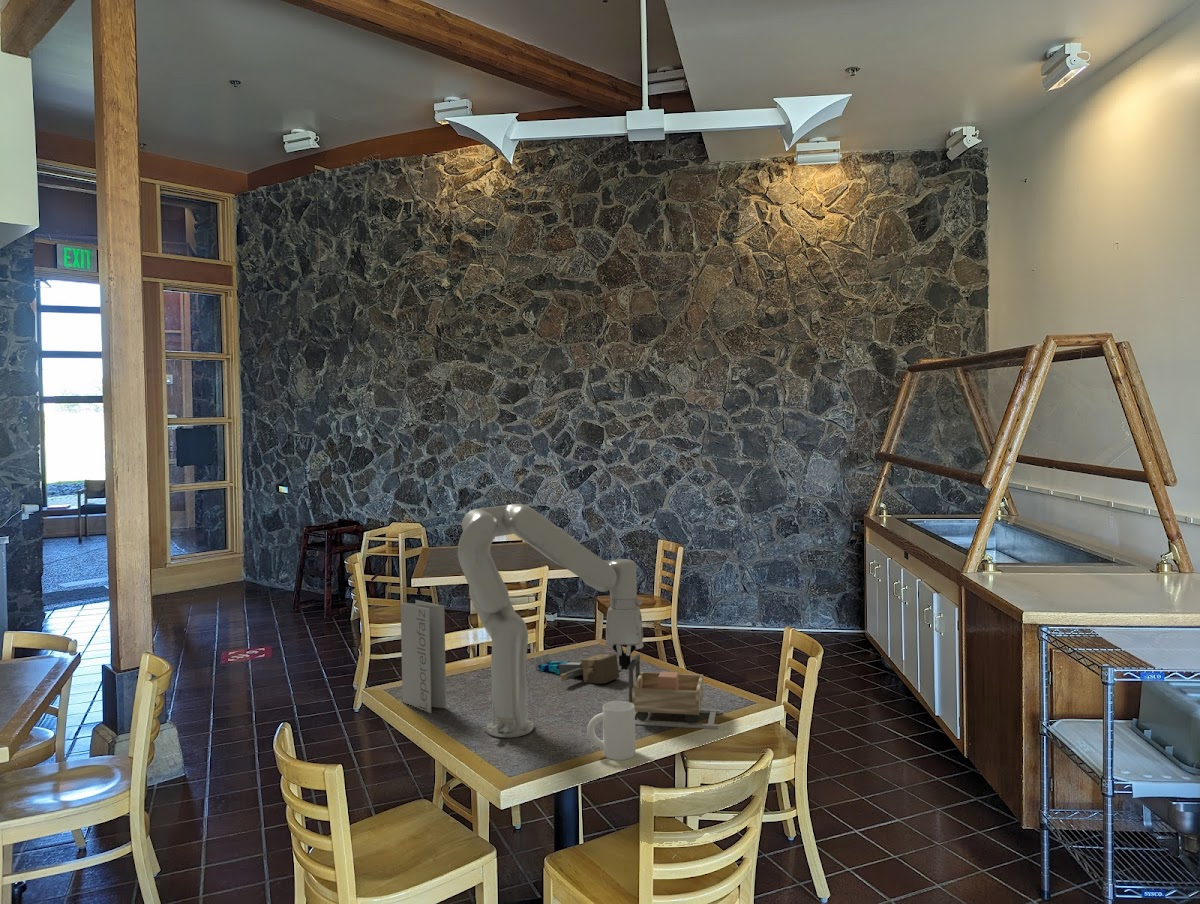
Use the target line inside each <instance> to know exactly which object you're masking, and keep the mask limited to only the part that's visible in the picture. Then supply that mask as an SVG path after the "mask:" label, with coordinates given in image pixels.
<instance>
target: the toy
mask: <svg viewBox="0 0 1200 904" xmlns="http://www.w3.org/2000/svg"><path fill="white" fill-rule="evenodd" d="M617 656H618V654H595V655H591V656H589V657H586V658H582V659H580V660H578V659H577V660H574V659H573V660H572V659H571V660H570V659H569V660H568V661H559V660H558V661H557V660H555V661H552V660H551V659H550V657H549V653H548V652H545V653H543V654H542V659H543V662H541V659H540V656H539V655H538V656H534V657H533V663H534V670H535V669H536V670H535V671H538V670H540V671H539V672H555V675H560V681H561V682H564V681H565V682H566V681H568V680H570V679H573V678H575V677H579V676H582V678H583V683H588V684H607V683H608V682H611V681H614V680H616V679H618V678H620V673H619V672H620V671H619V662H618V657H617Z"/></svg>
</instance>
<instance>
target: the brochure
mask: <svg viewBox="0 0 1200 904" xmlns="http://www.w3.org/2000/svg"><path fill="white" fill-rule="evenodd" d="M445 623H446V622H445V605H441V604H436V603H432V602H426V601H423V600H420V599H419V600H418V599H415V603H412V602H411V603H410V602H400V629H401V630H400V638H401V639H400V640H401V642H400V644H401V646H400V647H401V681H402V682H401V683H402V684H401V685H402V687H401V688H402V693H401V695H402V703H403V702H404V703H403V704H405V703H406V704H405V705H407V704H409V705H408V706H410V705H412V706H411V707H413V706H414V707H413V708H415V707H417V708H416V709H418V708H419V709H418V710H421V711H423V710H424V712H427V713H429V714H432V708H439V709H447V678H446V677H447V676H446V675H447V673H446V631H445V629H446V626H445V625H446V624H445Z"/></svg>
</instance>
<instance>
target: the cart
mask: <svg viewBox="0 0 1200 904" xmlns="http://www.w3.org/2000/svg"><path fill="white" fill-rule="evenodd" d="M640 659H641V654H639V653H635V655H634V656H633V658H632V659H631V660H630V665H629V666H628V669H627V670H628V702H630V703H633V704H634V706H635V712H637V715H636V717H637V720H641V721H645V720H647V719H648V717H649V713H653V714H670V715H671V714H672V715H673V714H674V715H676V714H677V715H684V722H685V723H696V722H695V721H696V719H697V716H700V714H701V713H700V709H702V708H701V707H702V704H703V699H704V674H700V673H697V674H696V673H695V674H694V673H678V678H679V690H667V689H658V676H659V674H660V672H655V671H654V672H653V671H652V672H649V671H640V669H641V665H640V662H641V661H640ZM634 670H635V682H634Z"/></svg>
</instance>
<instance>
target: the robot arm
mask: <svg viewBox="0 0 1200 904" xmlns="http://www.w3.org/2000/svg"><path fill="white" fill-rule="evenodd" d="M461 528H462V533H461V535H460V537H459V541H458V545H457V559H458V563H459V565H460V568H461V571H462V572H463V574H464V577H465V580H466V582H467V584H468V587H469V588H468V594H469V597H470V600H471V602H472V605H473V607H474V608H475V610H476V613H477V615H478V617H479V619H480V621H481V623H482V624H483V628H484V629H485V631H486V633H487V634H488V636H489V637H490V638H491V660H490V665H491V666H490V667H491V668H490V669H491V671H490V672H491V673H490V674H491V710H492V711H491V712H492V713H491V715H492V721H491V722H489V723H487V725H486V732H487V733H488V734H489V735H490V736H492V737H496V738H505V739H508V738H509V739H510V738H511V739H512V738H520V737H521V736H526V735H528V734H530V733H531V732H533V730H534V725H535V724H534V723H533V722H532V721H531V720H529V718H528V709H529V708H528V707H529V706H528V668H527V667H528V665H527V663H528V659H527V658H528V657H527V656H528V655H527V654H528V645H529V631H528V630H529V629H528V627H527V624H526V622H525V620H524V619H523V618H522V617H521V616H520V615H519V614H518V613H517V612H516V611H515V609H514V607H513V604H512V602H511V600H510V596H509V590H508V587H507V586H506V582H504V580H503V578H502V576H501V575H500V572H499V570H498V567H497V566H496V564H495V561H494V559H493V556H492V553H491V546H492V544H493V541H494V539H495V538H496V537H503V536H509V535H515V536H516V537H517V538H519V539H520V540H522V541H523V542H524V543H527V544H528V545H529V546H530V547H532V548H533V549H535V550H536V551H538V552H539V553H540V554H541V555H543V556H544V557H546V558H547V559H548V560H550V561H552V562H553V563H555V564H556V565H558V566H561V567H562V568H565V569H566V570H568V571H570V573H572V574H574V575H575V576H576V577H578V578H579V579H581V580H582V582H584V583H585V585H586V586H589V587H591V588H593V589H594V590H596V591H598V592H609V603H610V604H609V605H610V606H609V607H608V609H607V612H606V613H607V614H606V622H605V623H606V624H605V644H604V645H605V648H608V649H612V650H614V652H616V653H617V656H618V667H619V666H620V667H621V669H620V670H622V671H623V670H625V671H627V670H628V666H629V665H630V663H631V654H632V653H633V652H634V651H636V650H640V649H643V648H644V642H643V639H644V632H643V630H644V627H643V619H642V613H641V607H638V606H640V605H641V606H642V605H643V599H638V596H637V593H638V592H637V565H636V561H634V560H632V559H630V558H617V559H614V560H609V559H607V560H604V559H602V558H601V557H599V556H598V555H597V554H595V553H594V552H593V551H591V550H589V548H587V547H585V546H584V545H583V544H581V543H580V542H579V541H577V539H575V538H574V537H573V536H572V535H570V534H569V533H567V532H566V531H564V530H563V529H562V528H561V527H559V526H558V525H556V524H555V523H553V522H552V521H551V520H550V519H548V518H546V517H545V516H543V515H542V514H541V513H540V512H539V511H536V510H535V509H534V508H533V507H531V506H529V505H526V504H524V503H523V504H522V503H512V504H506V505H498V506H489V507H480V508H473V509H471V510H469V511H468V512H466V514H465V515H464V516H463V518H462V522H461ZM623 645H624V646H626V651H624V648H623V647H624V646H623Z"/></svg>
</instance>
